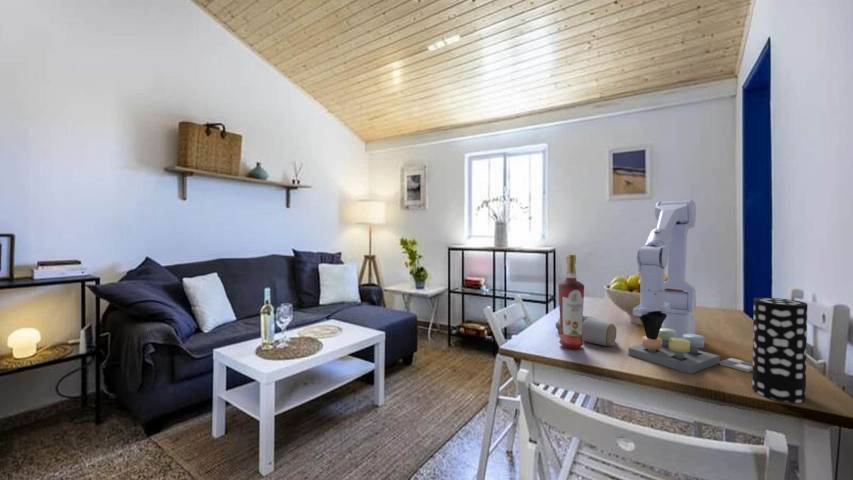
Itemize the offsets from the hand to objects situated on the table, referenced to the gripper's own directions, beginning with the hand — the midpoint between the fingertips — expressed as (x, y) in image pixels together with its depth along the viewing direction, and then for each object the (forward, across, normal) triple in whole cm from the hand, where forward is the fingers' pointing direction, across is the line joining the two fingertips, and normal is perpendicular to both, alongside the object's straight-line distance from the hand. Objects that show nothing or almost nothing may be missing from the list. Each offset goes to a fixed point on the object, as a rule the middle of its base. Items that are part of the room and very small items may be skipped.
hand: (651, 338), depth 103 cm
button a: (+3, +7, 0) cm, 8 cm away
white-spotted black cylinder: (+5, 0, -26) cm, 27 cm away
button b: (+3, +7, -7) cm, 10 cm away
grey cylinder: (+6, 0, +16) cm, 17 cm away
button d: (+3, 0, -7) cm, 8 cm away
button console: (+5, +4, -4) cm, 7 cm away
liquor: (+5, -12, +18) cm, 22 cm away
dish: (+6, +2, +26) cm, 27 cm away
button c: (+5, 0, 0) cm, 5 cm away
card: (+5, +12, -15) cm, 20 cm away
